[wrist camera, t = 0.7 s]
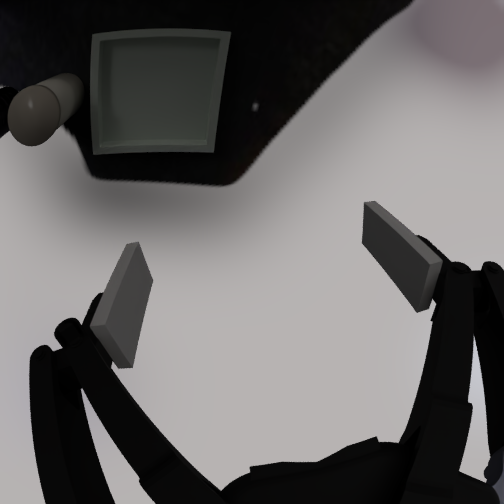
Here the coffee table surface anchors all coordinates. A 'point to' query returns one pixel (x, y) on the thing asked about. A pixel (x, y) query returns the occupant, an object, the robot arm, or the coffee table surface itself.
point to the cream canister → (44, 108)
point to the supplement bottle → (5, 107)
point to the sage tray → (156, 89)
